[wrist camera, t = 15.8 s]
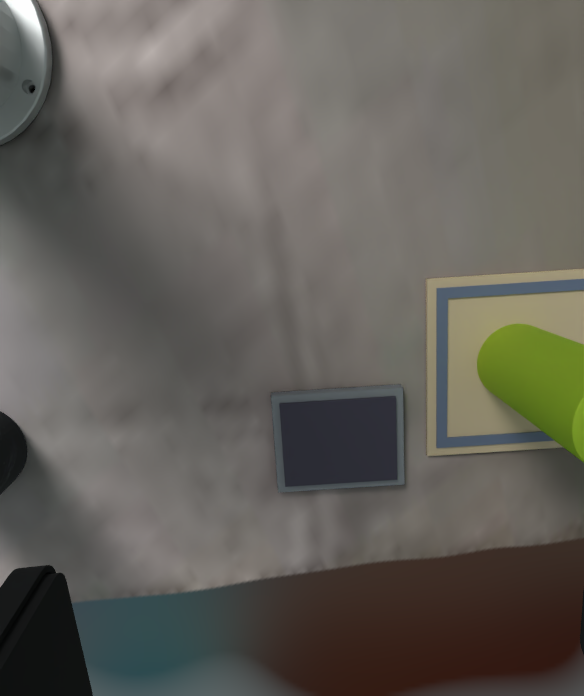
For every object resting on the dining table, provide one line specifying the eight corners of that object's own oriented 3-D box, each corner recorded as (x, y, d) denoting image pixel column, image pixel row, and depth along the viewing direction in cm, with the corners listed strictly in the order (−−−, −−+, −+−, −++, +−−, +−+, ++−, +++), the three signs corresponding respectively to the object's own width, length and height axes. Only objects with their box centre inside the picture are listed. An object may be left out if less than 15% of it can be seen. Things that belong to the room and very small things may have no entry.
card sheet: (425, 278, 37) (427, 279, 37) (615, 266, 37) (619, 267, 37) (426, 454, 41) (427, 457, 40) (601, 443, 40) (604, 445, 40)
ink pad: (271, 392, 39) (270, 397, 38) (400, 384, 39) (403, 388, 38) (278, 486, 41) (278, 494, 40) (401, 479, 41) (405, 486, 40)
